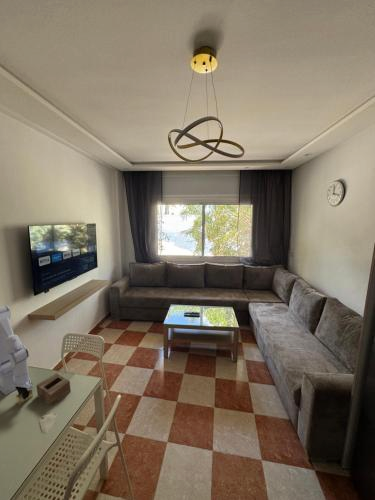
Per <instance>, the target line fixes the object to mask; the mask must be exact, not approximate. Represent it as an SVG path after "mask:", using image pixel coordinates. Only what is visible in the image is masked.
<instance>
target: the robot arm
mask: <svg viewBox="0 0 375 500" xmlns="http://www.w3.org/2000/svg"><path fill="white" fill-rule="evenodd" d="M11 315H12V311H11V308H10V307H9V305H4V306H0V391H1V393H3V394H4V395H6V396H7V395H9V394H11V393H12V392H14V391H15V390H16V391H17V393H18V394H20V393H21V394H22V397H23V399H24V400H25V399H26V398H28V397H29V392H30V390H31V389H32V390H33V388H34V387H33V383H32V381H31V377H30V375H29V366H28V365H29V364H28V358H29V356H30V353H29V351H28V349H27V347H26V346H25V344H23V343H22V342H21V339H20V337H19V336H18V335H17V334H14V330H13V328H12V324H11V321H10V320H11V317H12V316H11Z"/></svg>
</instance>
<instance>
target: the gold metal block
mask: <svg viewBox="0 0 375 500" xmlns="http://www.w3.org/2000/svg"><path fill="white" fill-rule="evenodd" d="M32 397H34V396H33V388H32V389H31V390H30V392H29V397H28V398H26V399H25V400H24V399H23V397H22V394H21V393H20V394H19V393H18V394H16V395H15V400H16V403H17V404H18V405H19V406H20V405H22V404H23V403H25V402H27V400H30V399H31V398H32Z"/></svg>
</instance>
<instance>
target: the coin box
mask: <svg viewBox="0 0 375 500" xmlns="http://www.w3.org/2000/svg"><path fill="white" fill-rule="evenodd" d="M36 392H37V396H38V397H39V398H40V399H42V400H43V401H45V402H46V403H47V404H48V405H50V406H53V405H54V404H55V403H57V402H58V401H59V400H61V399H62V398H64V397H65V396H67V395H68V394H69V393H70V392H71V382H70V380H68V379H66V377H63V376H61V374H59V373H57V372H56V373H54V374H52V375H50V376H49V377H47V378H46V379H44V380H42V381H41V382H39V383H38V384H36Z"/></svg>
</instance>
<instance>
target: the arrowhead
mask: <svg viewBox="0 0 375 500" xmlns="http://www.w3.org/2000/svg"><path fill="white" fill-rule="evenodd" d="M57 416H58V414H57V413H56V414H55V412H51V413H50V414H45V415H42V419H40V420H39V424H40V431H41V432H42V434H45V435H46V434H48V433H49V432H50V430H52V429H53V427H54V424H55V422H56V419H57V418H58V417H57Z"/></svg>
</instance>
